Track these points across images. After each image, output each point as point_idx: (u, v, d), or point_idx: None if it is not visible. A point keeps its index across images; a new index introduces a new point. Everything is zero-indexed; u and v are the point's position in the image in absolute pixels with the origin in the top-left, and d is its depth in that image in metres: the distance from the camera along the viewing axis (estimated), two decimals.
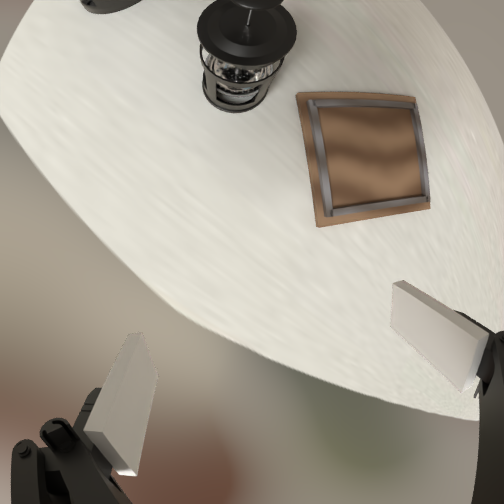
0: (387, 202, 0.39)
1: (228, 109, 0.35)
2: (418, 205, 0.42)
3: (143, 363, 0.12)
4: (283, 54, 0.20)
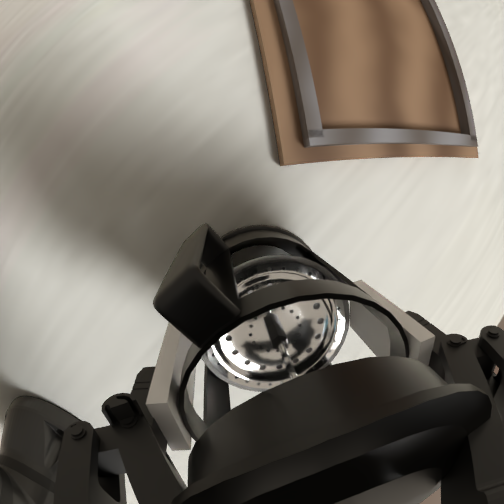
0: (447, 40, 0.15)
1: None
2: None
3: (187, 343, 0.13)
4: (486, 404, 0.04)
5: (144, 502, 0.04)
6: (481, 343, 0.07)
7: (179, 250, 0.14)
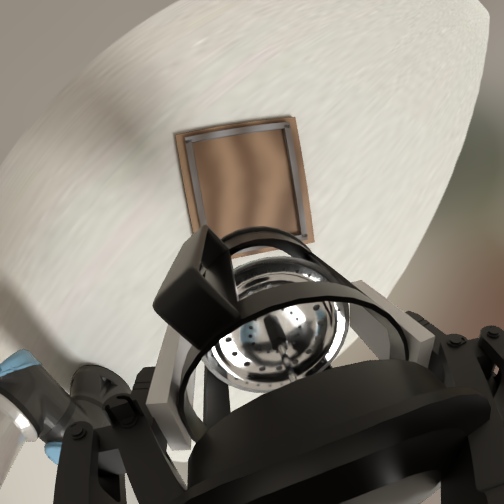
0: (294, 178, 0.45)
1: None
2: (293, 133, 0.44)
3: (187, 343, 0.13)
4: (485, 407, 0.04)
5: (144, 502, 0.04)
6: (481, 343, 0.07)
7: (179, 251, 0.14)
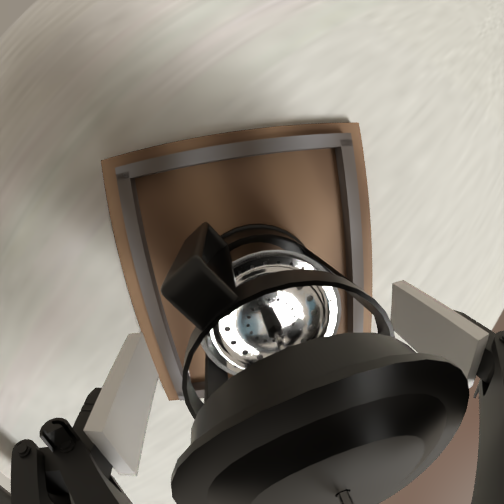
0: (353, 257, 0.21)
1: None
2: (354, 158, 0.20)
3: (143, 363, 0.12)
4: (461, 379, 0.05)
5: None
6: None
7: None
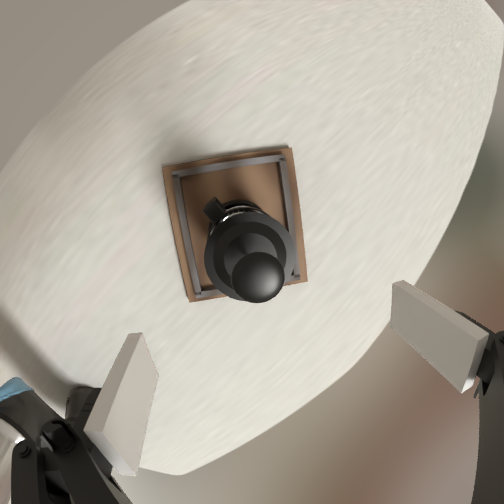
0: (288, 216, 0.43)
1: None
2: (289, 166, 0.42)
3: (143, 363, 0.12)
4: (281, 226, 0.27)
5: None
6: None
7: None
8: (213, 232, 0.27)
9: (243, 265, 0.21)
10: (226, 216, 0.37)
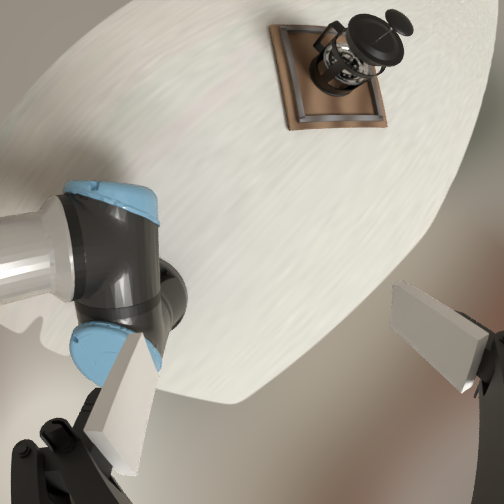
0: (369, 70, 0.42)
1: None
2: None
3: (143, 363, 0.12)
4: (392, 28, 0.26)
5: None
6: None
7: (317, 39, 0.36)
8: (353, 18, 0.26)
9: (391, 12, 0.20)
10: None
